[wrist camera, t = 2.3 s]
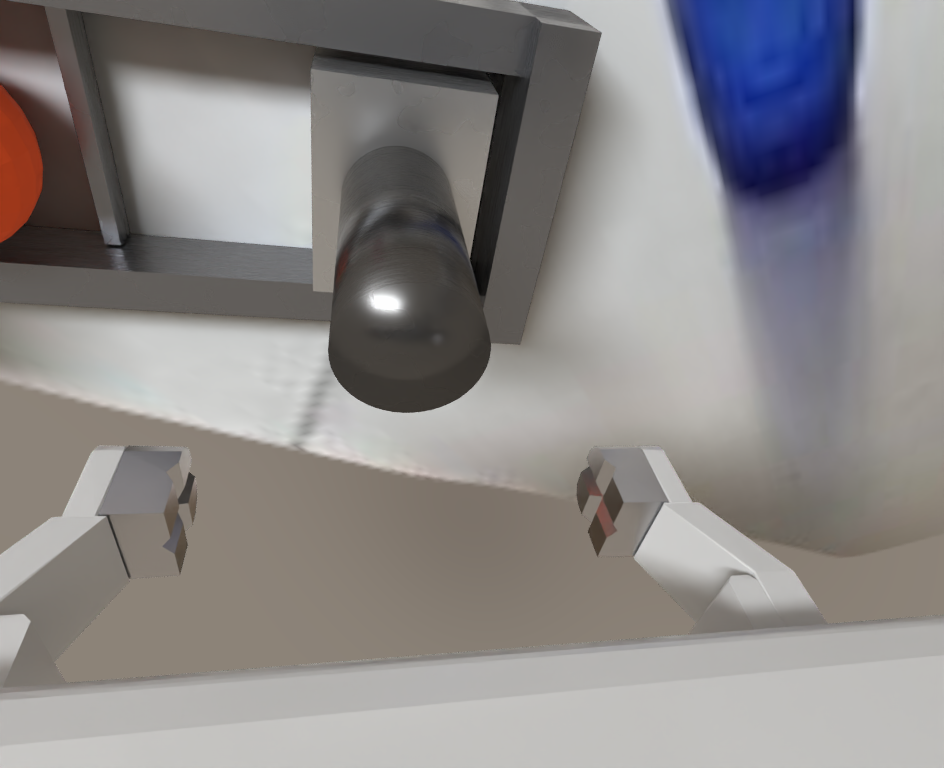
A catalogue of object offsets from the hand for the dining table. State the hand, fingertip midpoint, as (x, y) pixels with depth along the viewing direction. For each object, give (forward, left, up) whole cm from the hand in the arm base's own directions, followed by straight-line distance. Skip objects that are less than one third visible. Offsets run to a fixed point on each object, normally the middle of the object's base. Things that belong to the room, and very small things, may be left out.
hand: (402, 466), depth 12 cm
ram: (0, 0, -16) cm, 16 cm away
